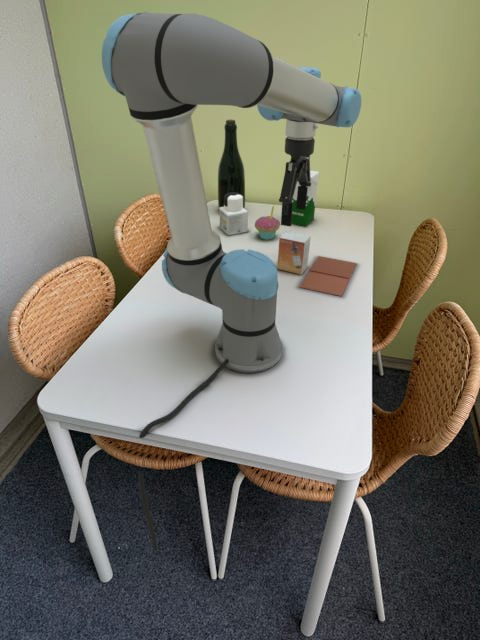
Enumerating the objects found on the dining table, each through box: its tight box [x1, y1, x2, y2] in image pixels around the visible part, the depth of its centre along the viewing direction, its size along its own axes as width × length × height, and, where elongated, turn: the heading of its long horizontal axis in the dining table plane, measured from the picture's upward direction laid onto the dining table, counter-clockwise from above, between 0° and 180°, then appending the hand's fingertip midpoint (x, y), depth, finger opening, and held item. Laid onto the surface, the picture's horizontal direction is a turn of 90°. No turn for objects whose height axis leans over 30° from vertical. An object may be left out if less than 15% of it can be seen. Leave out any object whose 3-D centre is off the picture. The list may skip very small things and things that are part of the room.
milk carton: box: [291, 169, 320, 227], centre depth 157 cm, size 9×9×20 cm
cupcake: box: [254, 204, 281, 241], centre depth 149 cm, size 9×8×12 cm
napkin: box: [299, 255, 357, 297], centre depth 130 cm, size 20×12×1 cm, turn 157°
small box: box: [276, 230, 312, 276], centre depth 131 cm, size 8×6×10 cm
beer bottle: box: [217, 119, 246, 211], centre depth 162 cm, size 10×10×33 cm
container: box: [218, 192, 249, 236], centre depth 153 cm, size 8×8×13 cm
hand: (293, 216), depth 124 cm, fingers open, 13 cm apart
